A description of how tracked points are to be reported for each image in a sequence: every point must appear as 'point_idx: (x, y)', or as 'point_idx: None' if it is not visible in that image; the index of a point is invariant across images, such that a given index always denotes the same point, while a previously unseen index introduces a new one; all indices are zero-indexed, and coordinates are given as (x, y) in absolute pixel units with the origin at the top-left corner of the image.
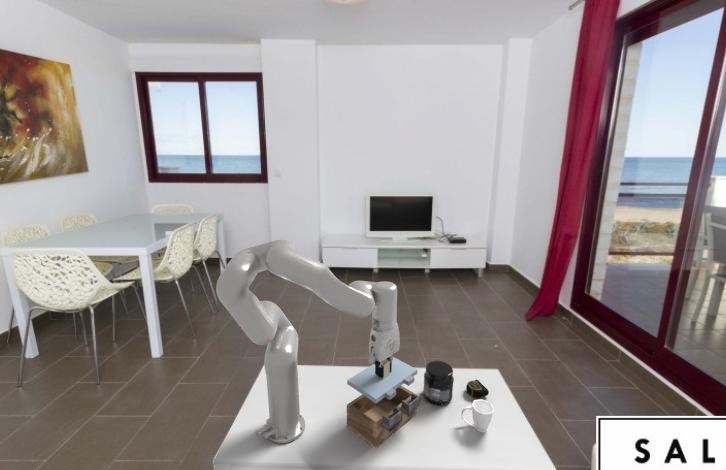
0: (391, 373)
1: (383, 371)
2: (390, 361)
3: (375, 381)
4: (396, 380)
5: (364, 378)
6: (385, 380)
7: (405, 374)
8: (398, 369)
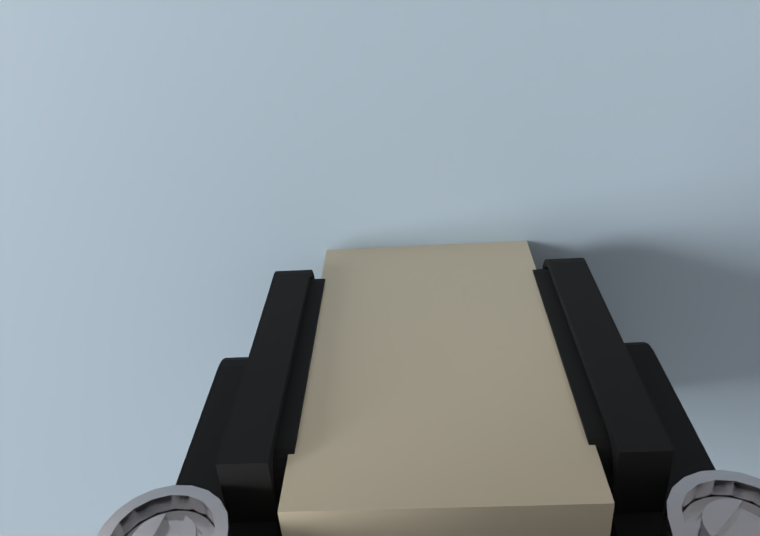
0: (269, 253)
1: (586, 345)
2: (242, 489)
3: (705, 285)
4: (352, 12)
5: (750, 450)
6: (538, 180)
7: (15, 24)
8: (55, 250)
